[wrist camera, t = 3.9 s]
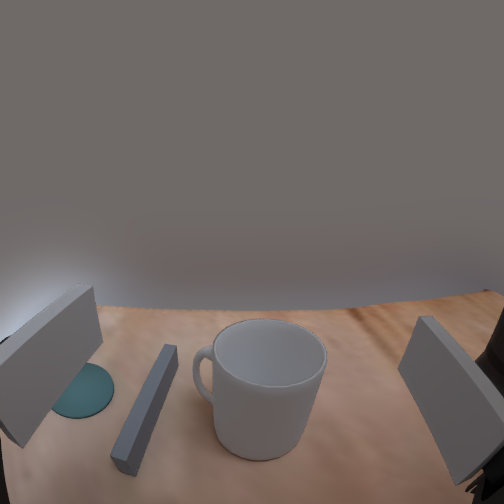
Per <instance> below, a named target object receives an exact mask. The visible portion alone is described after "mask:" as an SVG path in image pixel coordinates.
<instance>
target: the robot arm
mask: <svg viewBox="0 0 504 504" xmlns="http://www.w3.org/2000/svg"><path fill="white" fill-rule="evenodd" d="M102 343H103V338H102V334H101V329H100V324H99V319H98V314H97V308H96V302H95V297H94V290H93V286H91V285H86V284H81V283H78V284H77V285H76V286H74V287H73V288H72V289H70V290H69V291H68V292H66V293H65V294H63V295H62V296H61V297H59V298H58V299H57V300H55V301H54V302H53V303H51V304H50V305H49V306H47V307H46V308H45V309H43V310H42V311H41V312H40V313H38V314H37V315H36V316H35V317H33V318H32V319H31V320H30V321H28V322H27V323H26V324H25V325H23V326H22V327H21V328H20V329H19V330H17V331H16V332H15V333H14V334H12V335H11V336H9V337H6V338H5V339H4V340H2V341H1V342H0V428H1V429H2V431H3V432H4V433H5V434H6V436H7V437H8V438H9V439H10V440H11V441H13V442H14V443H15V444H17V445H18V446H20V447H21V448H22V449H23V448H24V447H25V445H26V444H27V442H28V441H29V439H30V438H31V436H32V435H33V434H34V432H35V431H36V429H37V428H38V426H39V425H40V424H41V422H42V421H43V419H44V418H45V417H46V415H47V414H48V412H49V411H50V410H51V408H52V407H53V406H54V404H55V403H56V401H57V400H58V399H59V397H60V396H61V395H62V393H63V392H64V391H65V389H66V388H67V387H68V386H69V384H70V383H71V382H72V380H73V379H74V378H75V377H76V375H77V374H78V373H79V371H80V370H81V369H82V368H83V366H84V365H85V364H86V363H87V361H88V360H89V359H90V358H91V356H92V355H93V354H94V353H95V351H96V350H97V349H98V348H99V347H100V345H101V344H102ZM398 370H399V372H400V374H401V376H402V378H403V379H404V381H405V383H406V385H407V387H408V388H409V390H410V392H411V394H412V396H413V398H414V400H415V401H416V403H417V405H418V407H419V409H420V411H421V413H422V415H423V417H424V419H425V421H426V423H427V425H428V427H429V429H430V431H431V433H432V435H433V437H434V439H435V441H436V443H437V445H438V447H439V449H440V452H441V454H442V456H443V458H444V460H445V463H446V465H447V467H448V469H449V472H450V474H451V476H452V479H453V481H454V483H455V486H457V485H459V484H461V483H463V482H465V481H467V480H469V479H471V478H472V477H473V476H474V475H475V474H476V473H477V472H479V471H480V470H481V469H483V471H484V472H483V473H482V474H481V475H480V476H479V477H478V478H477V479H476V480H474V481H473V482H472V483H471V484H470V485H469V486H468V487H467V488H466V490H465V492H468V491H469V490H470V489H472V488H473V487H474V486H475V485H477V486H476V487H475V488H474V489H473V490H472V491H471V492H470V493H473V494H475V495H474V498H473V502H472V504H504V308H503V310H502V313H501V315H500V318H499V320H498V323H497V325H496V327H495V329H494V332H493V334H492V336H491V338H490V341H489V343H488V345H487V347H486V349H485V350H484V352H483V353H482V354H481V355H480V356H479V357H478V358H477V359H476V360H475V361H473V360H472V358H471V357H470V356H469V355H468V354H467V353H466V352H465V350H464V349H463V348H462V347H461V346H460V345H459V344H458V343H457V342H456V340H455V339H454V338H453V337H452V336H451V335H450V334H449V333H448V332H447V331H446V330H445V329H444V327H443V326H442V325H441V324H440V323H439V322H438V321H437V320H436V319H435V318H434V317H433V316H419V317H418V320H417V323H416V326H415V328H414V331H413V333H412V336H411V339H410V341H409V344H408V346H407V348H406V351H405V353H404V355H403V358H402V360H401V362H400V364H399V367H398ZM0 504H10V502H9V497H8V492H7V487H6V482H5V476H4V469H3V460H2V450H1V439H0Z"/></svg>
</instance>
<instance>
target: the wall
mask: <svg viewBox="0 0 504 504" xmlns="http://www.w3.org/2000/svg"><path fill="white" fill-rule="evenodd" d="M178 366H179V365H178V355H177V346H175V345H169V344H165V345H164V347H163V349H162V350H161V352H160V354H159V356H158V358H157V360H156V362H155V364H154V366H153V368H152V370H151V372H150V374H149V376H148V378H147V380H146V382H145V384H144V386H143V388H142V390H141V392H140V394H139V396H138V398H137V400H136V402H135V404H134V406H133V408H132V410H131V412H130V414H129V416H128V418H127V420H126V422H125V424H124V426H123V428H122V430H121V433H120V435H119V437H118V439H117V441H116V443H115V445H114V447H113V450H112V452H111V454H110V457H111V458H112V460H113V461H114V463H115V464H116V466H117V467H118V469H119V470H120V472H123V473H126V474H129V475H132V476H135V477H136V475H137V472H138V469H139V467H140V464H141V461H142V458H143V456H144V453H145V450H146V448H147V445H148V442H149V440H150V437H151V434H152V432H153V429H154V427H155V424H156V421H157V419H158V416H159V414H160V411H161V409H162V406H163V403H164V401H165V398H166V396H167V393H168V391H169V388H170V386H171V383H172V381H173V378H174V376H175V373H176V371H177V368H178Z"/></svg>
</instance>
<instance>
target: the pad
mask: <svg viewBox="0 0 504 504" xmlns="http://www.w3.org/2000/svg"><path fill="white" fill-rule="evenodd" d="M113 394H114V384H113V381H112V378H111V376H110V375H109V373H108V372H107V371H106V370H105V369H103V368H102V367H100V366H98V365H95V364H91V363H86V364H85V365H84V366H83V368H82V369H81V370H80V371H79V373H78V374H77V375H76V377H75V378H74V379H73V380H72V382H71V383H70V384H69V386H68V387H67V388H66V389H65V391H64V392H63V393H62V395H61V396H60V397H59V399H58V400H57V401H56V403H55V404H54V406H53V407H52V408H51V409H52V410H53V411H55V412H56V413H58V414H59V415H61V416H64V417H67V418H74V419H80V418H86V417H90V416H93V415H95V414H97V413H99V412H100V411H102V410H103V409H104V408H105V407H106V406H107V405H108V404H109V403H110V401H111V399H112V397H113Z"/></svg>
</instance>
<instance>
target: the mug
mask: <svg viewBox="0 0 504 504" xmlns="http://www.w3.org/2000/svg"><path fill="white" fill-rule="evenodd" d="M205 357H206V358H207V359H209V360H211V361H212V364H213V394H212V393H210V392H209V391H208V390H207V389H206V388H205V387H204V385H203V383H202V381H201V377H200V370H199V367H200V363H201V361H202V360H203V358H205ZM326 363H327V351H326V348H325V346H324V344H323V343H322V342H321V340H320V339H319V338H318V337H317V336H316V335H314V334H313V333H312V332H310V331H309V330H307V329H305V328H303V327H301V326H299V325H296V324H293V323H289V322H286V321H281V320H274V319H252V320H245V321H241V322H237V323H234V324H232V325H230V326H228V327H226V328H225V329H223V330H222V331H221V332H220V333H219V334H218V335H217V337H216V338H215V340H214V342H213V345H211V346H208V347H204V348H202V349H201V350H199V351H198V352H197V353H196V355H195V357H194V361H193V378H194V382H195V385H196V387H197V389H198V391H199V393H200V394H201V395H202V396H203V398H204V399H206V400H207V401H208V402H210V403H211V404H212V405H213V415H214V427H215V431H216V434H217V438H218V439H219V441H220V442H221V443H222V445H223V446H224V447H225V448H226V449H228V450H229V451H230V452H231V453H233V454H235V455H238V456H240V457H242V458H246V459H251V460H270V459H274V458H278V457H280V456H282V455H284V454H286V453H288V452H289V451H290V450H291V449H292V448H294V447H295V446H296V444H297V443H298V441H299V439H300V437H301V435H302V433H303V431H304V429H305V426H306V423H307V421H308V418H309V415H310V412H311V409H312V407H313V404H314V401H315V398H316V395H317V392H318V389H319V386H320V383H321V380H322V376H323V373H324V370H325V367H326Z"/></svg>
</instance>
